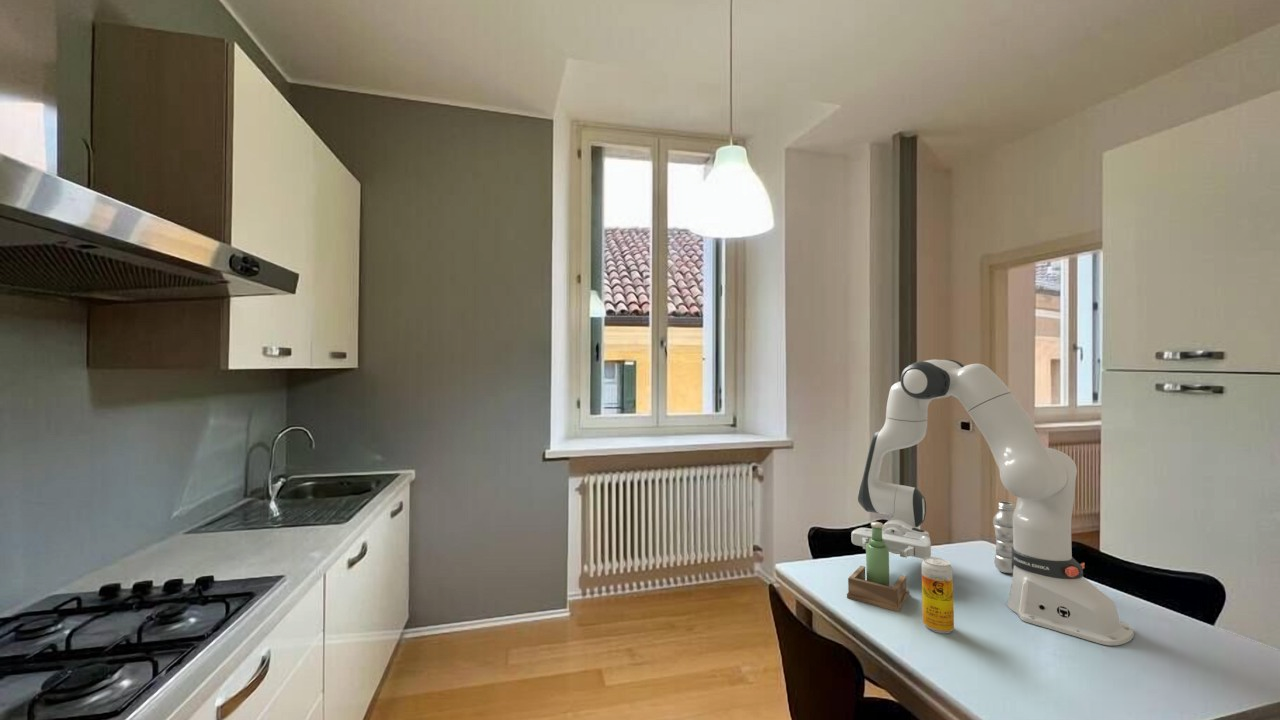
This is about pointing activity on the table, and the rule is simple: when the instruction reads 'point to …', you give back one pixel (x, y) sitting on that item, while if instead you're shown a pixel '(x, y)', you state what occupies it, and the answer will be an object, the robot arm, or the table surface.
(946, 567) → the beer can
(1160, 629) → the table surface
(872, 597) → the tray
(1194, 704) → the table surface
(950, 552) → the table surface
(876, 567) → the bottle
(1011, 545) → the plastic bottle
